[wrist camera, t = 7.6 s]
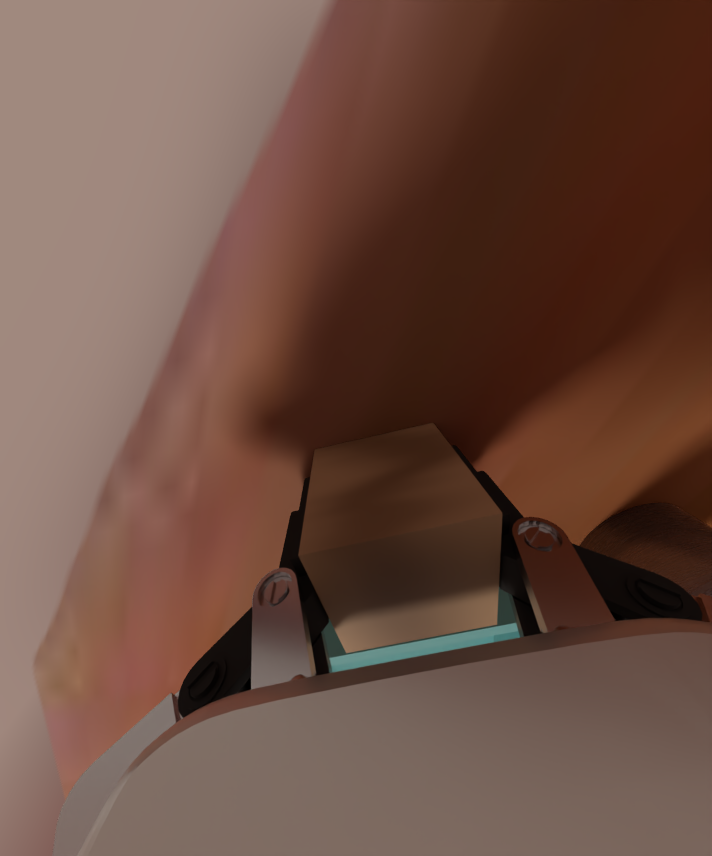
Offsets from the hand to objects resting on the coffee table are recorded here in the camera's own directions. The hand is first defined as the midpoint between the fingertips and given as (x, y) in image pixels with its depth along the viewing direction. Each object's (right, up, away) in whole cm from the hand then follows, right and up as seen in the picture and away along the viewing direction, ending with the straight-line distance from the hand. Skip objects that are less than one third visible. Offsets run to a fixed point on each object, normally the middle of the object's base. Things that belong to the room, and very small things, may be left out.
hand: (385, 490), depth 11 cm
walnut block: (0, 0, 0) cm, 1 cm away
